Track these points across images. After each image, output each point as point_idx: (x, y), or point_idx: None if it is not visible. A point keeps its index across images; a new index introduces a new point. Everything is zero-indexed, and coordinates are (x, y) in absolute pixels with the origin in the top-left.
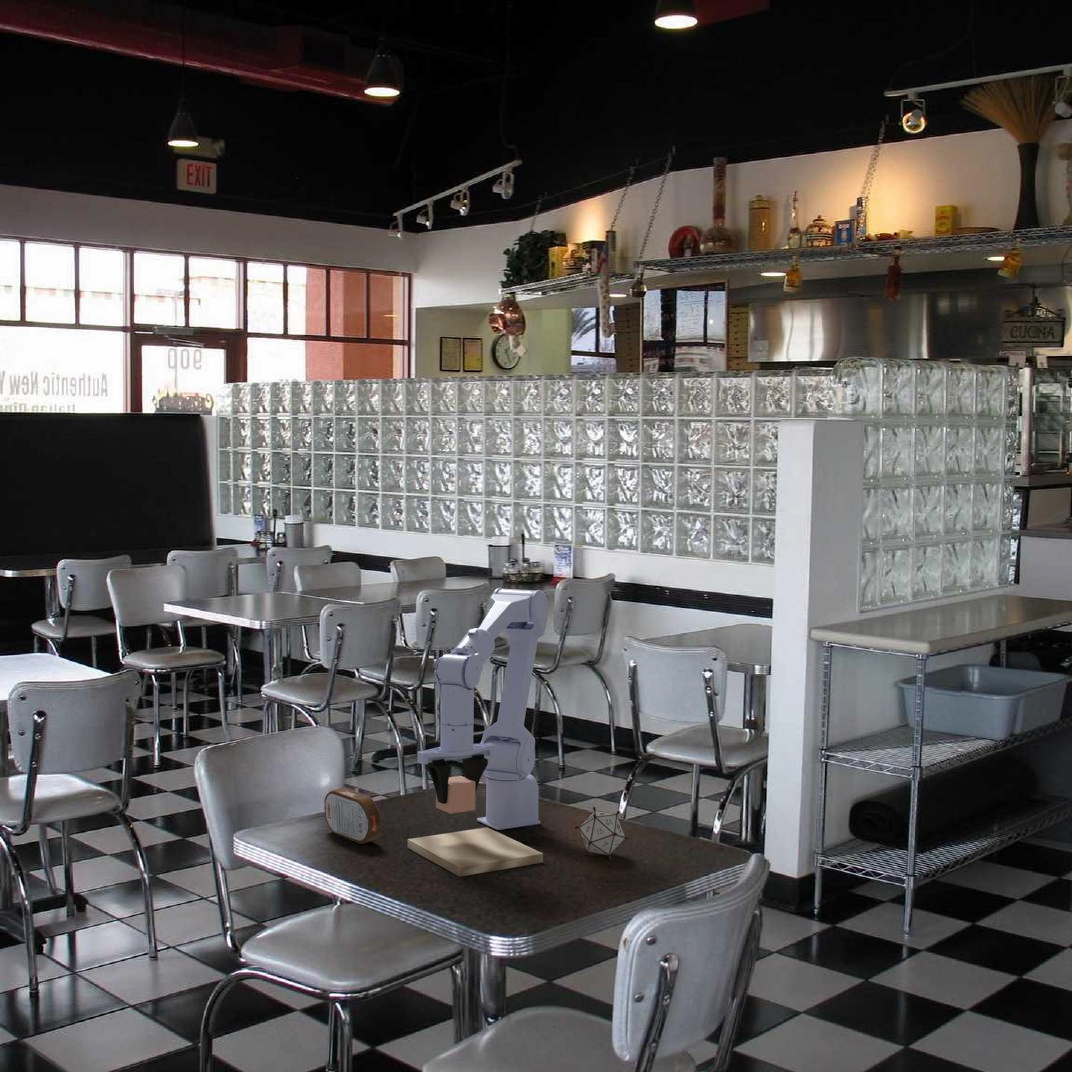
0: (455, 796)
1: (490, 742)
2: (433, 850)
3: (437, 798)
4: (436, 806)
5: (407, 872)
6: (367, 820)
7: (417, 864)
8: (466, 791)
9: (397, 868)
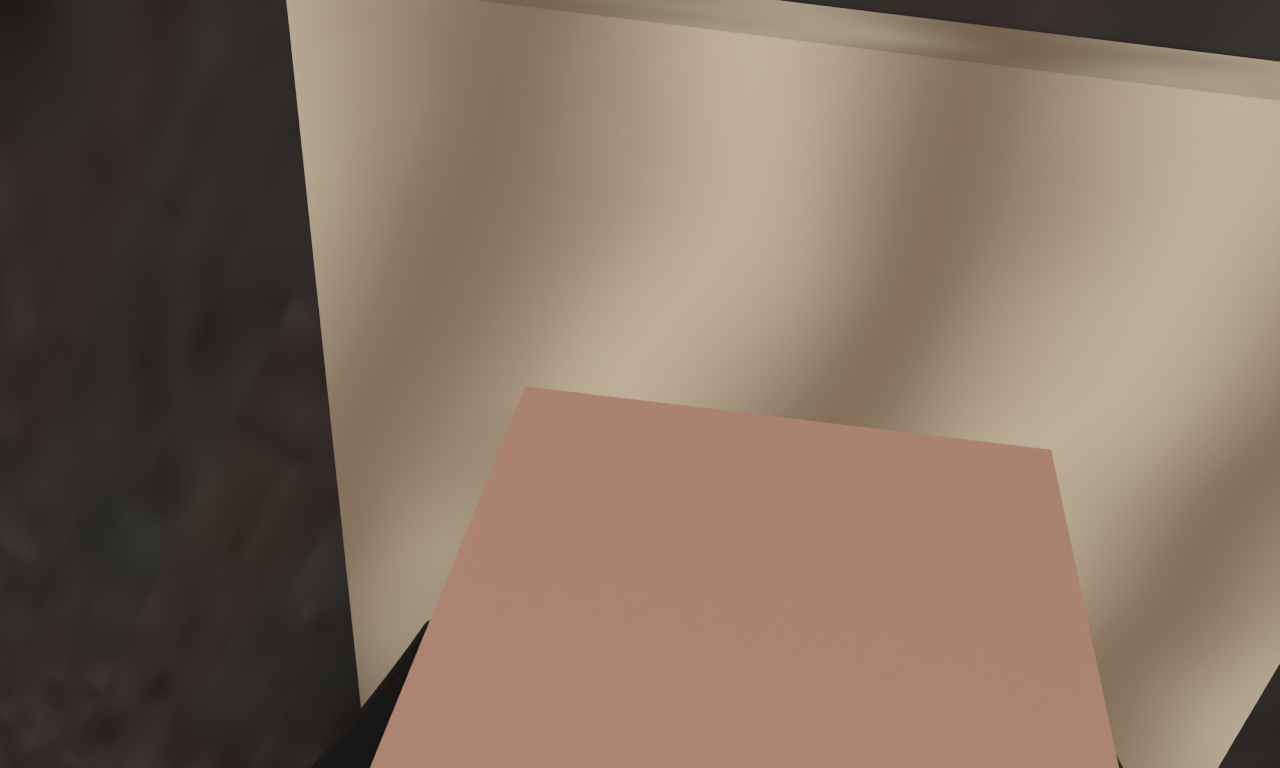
0: None
1: None
2: (379, 476)
3: (403, 659)
4: (522, 414)
5: (90, 536)
6: None
7: (226, 444)
8: None
9: (38, 428)
